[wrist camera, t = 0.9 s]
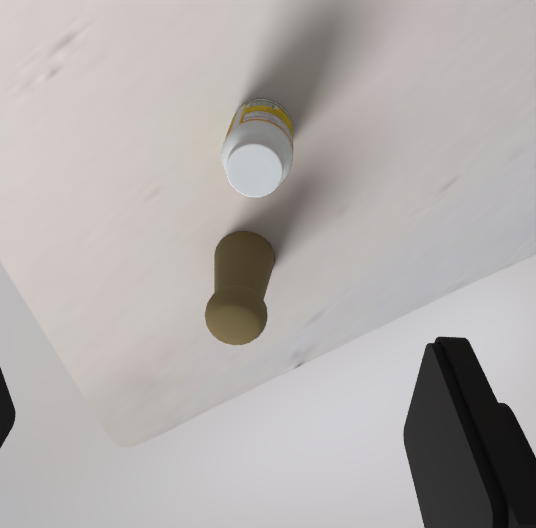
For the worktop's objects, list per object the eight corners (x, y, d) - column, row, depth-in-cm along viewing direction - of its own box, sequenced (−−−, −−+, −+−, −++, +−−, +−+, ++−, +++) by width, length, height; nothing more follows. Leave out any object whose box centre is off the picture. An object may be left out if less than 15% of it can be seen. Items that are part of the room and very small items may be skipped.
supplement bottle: (267, 84, 41) (261, 116, 32) (305, 135, 43) (309, 178, 35) (217, 124, 42) (200, 164, 34) (256, 171, 45) (249, 219, 36)
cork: (266, 225, 47) (261, 291, 38) (281, 277, 50) (279, 350, 41) (206, 237, 48) (187, 305, 39) (224, 288, 51) (209, 361, 42)
